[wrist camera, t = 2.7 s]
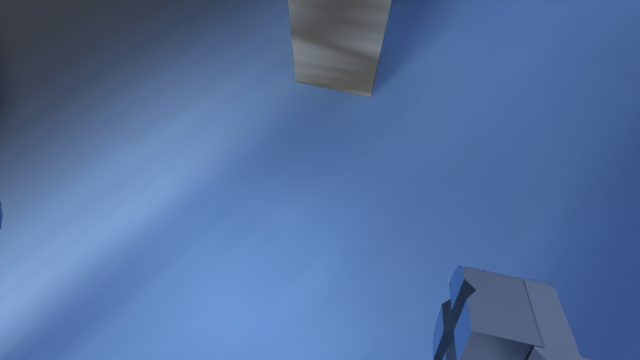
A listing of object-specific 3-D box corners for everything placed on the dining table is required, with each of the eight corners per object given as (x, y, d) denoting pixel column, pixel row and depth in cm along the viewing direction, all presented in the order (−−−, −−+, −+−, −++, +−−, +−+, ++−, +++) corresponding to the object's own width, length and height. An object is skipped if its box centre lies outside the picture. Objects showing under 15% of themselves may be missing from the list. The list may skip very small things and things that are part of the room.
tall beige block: (382, 43, 28) (409, -83, 20) (370, 96, 28) (394, -11, 19) (309, 29, 29) (305, -102, 20) (295, 81, 28) (285, -32, 19)
